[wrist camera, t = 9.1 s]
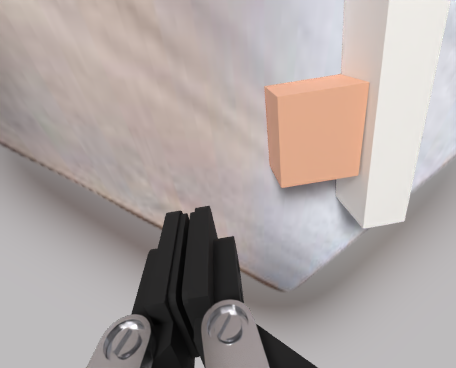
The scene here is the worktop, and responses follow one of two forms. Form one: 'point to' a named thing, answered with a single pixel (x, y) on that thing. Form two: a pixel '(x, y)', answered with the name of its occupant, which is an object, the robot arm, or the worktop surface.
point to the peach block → (315, 128)
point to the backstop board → (390, 99)
